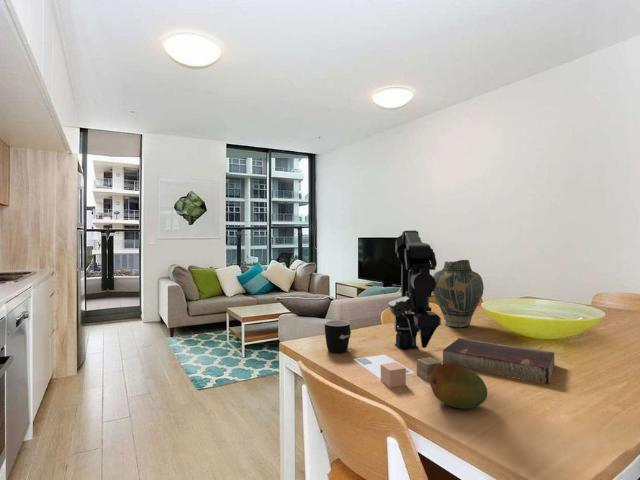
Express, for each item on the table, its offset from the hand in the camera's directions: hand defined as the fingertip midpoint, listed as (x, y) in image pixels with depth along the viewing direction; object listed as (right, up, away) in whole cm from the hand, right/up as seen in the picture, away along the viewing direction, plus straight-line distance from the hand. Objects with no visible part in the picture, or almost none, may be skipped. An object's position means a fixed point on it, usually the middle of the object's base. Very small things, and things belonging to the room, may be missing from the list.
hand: (418, 342), depth 107 cm
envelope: (-9, -10, +11) cm, 17 cm away
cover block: (-8, -11, -3) cm, 14 cm away
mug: (-21, -11, +27) cm, 36 cm away
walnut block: (+3, -11, +1) cm, 11 cm away
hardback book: (+28, -11, +11) cm, 32 cm away
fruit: (+5, -11, -16) cm, 20 cm away
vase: (+33, -9, +61) cm, 70 cm away
